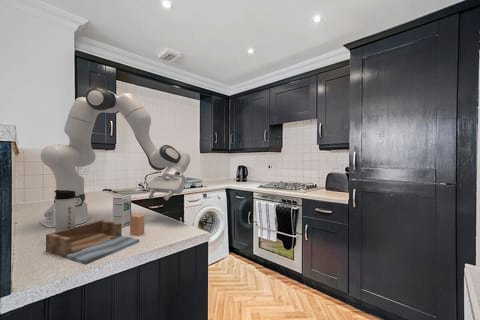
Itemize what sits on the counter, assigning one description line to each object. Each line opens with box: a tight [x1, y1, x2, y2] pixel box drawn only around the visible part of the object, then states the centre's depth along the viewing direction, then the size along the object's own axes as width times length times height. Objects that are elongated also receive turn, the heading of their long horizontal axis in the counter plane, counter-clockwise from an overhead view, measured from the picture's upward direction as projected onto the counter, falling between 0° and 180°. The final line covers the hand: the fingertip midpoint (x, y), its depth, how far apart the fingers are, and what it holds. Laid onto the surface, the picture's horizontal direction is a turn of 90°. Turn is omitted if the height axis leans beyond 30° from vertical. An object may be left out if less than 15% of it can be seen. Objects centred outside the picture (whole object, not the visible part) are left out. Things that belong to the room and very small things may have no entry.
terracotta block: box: [129, 214, 145, 237], centre depth 94 cm, size 5×3×8 cm, turn 66°
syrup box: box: [112, 194, 132, 228], centre depth 107 cm, size 6×6×14 cm
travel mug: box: [53, 189, 76, 232], centre depth 87 cm, size 6×7×20 cm
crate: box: [45, 219, 140, 265], centre depth 81 cm, size 22×20×6 cm
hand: (157, 198), depth 105 cm, fingers open, 8 cm apart
